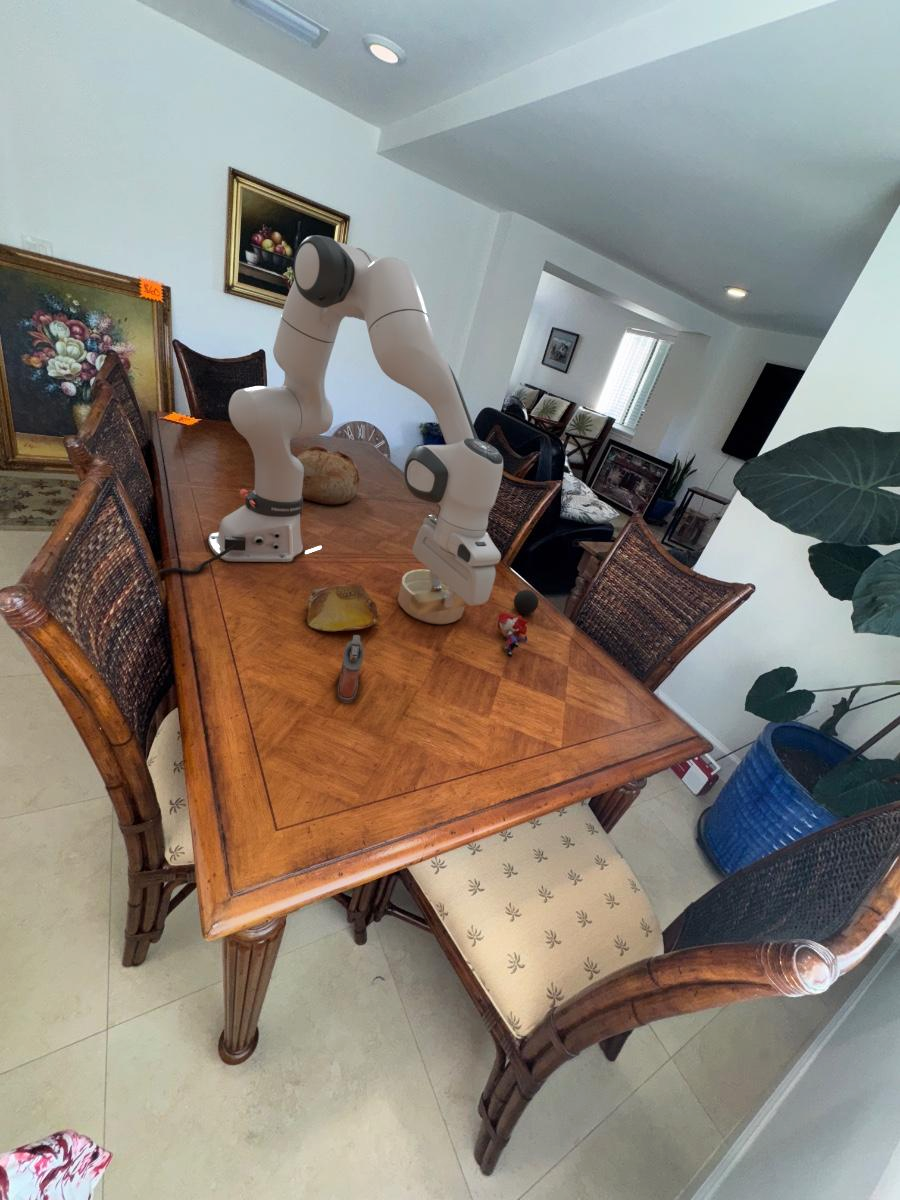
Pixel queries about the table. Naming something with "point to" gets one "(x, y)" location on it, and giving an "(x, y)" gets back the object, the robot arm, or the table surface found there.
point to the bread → (328, 476)
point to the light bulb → (526, 601)
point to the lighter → (350, 670)
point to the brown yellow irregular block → (341, 608)
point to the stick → (432, 602)
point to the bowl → (421, 584)
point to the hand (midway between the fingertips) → (440, 599)
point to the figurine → (512, 630)
